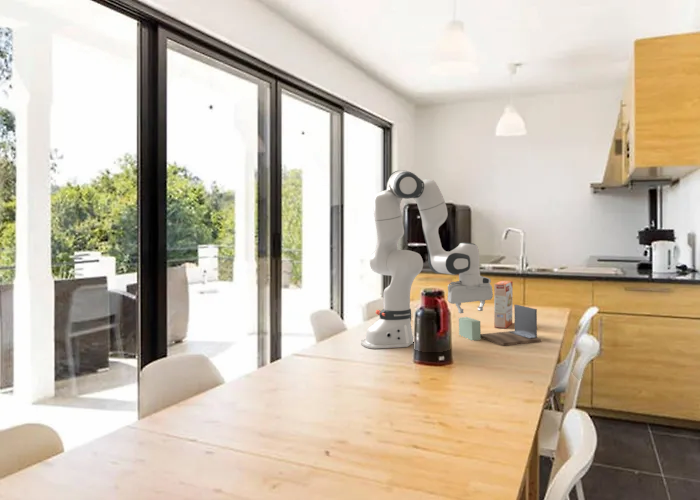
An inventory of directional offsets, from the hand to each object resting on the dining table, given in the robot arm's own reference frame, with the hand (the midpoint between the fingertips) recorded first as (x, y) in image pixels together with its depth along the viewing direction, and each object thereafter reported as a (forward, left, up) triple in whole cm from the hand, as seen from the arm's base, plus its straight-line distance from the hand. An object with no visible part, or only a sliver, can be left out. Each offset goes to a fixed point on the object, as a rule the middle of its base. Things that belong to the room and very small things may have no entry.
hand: (470, 311), depth 225 cm
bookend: (+19, -10, -10) cm, 23 cm away
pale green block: (-1, 0, -11) cm, 11 cm away
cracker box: (+27, +16, -11) cm, 34 cm away
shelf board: (+12, -10, -11) cm, 19 cm away
